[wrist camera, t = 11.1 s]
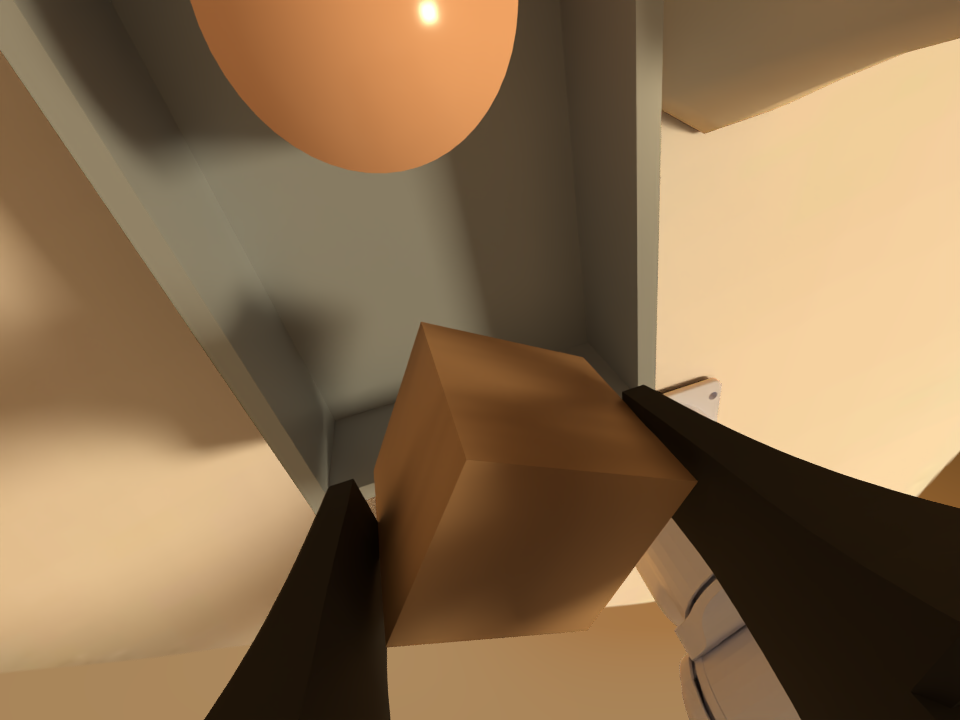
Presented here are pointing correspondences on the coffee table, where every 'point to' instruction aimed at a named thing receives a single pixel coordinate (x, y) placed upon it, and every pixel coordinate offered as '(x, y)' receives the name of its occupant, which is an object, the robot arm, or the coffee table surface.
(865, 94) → the coffee table surface
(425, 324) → the walnut cube
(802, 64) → the flask
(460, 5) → the terracotta cylinder
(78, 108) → the slate tote
